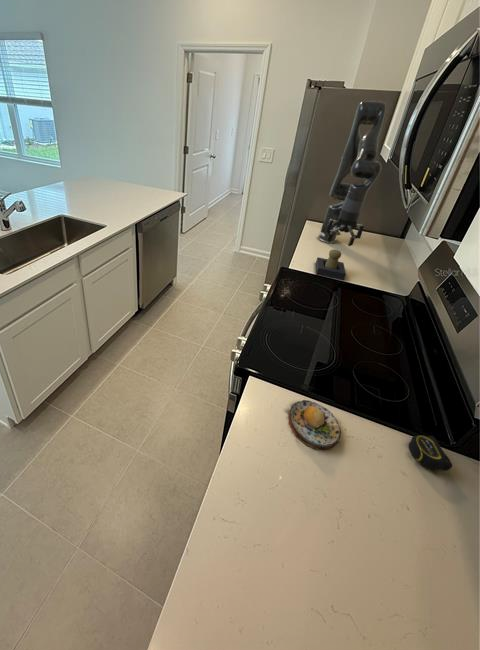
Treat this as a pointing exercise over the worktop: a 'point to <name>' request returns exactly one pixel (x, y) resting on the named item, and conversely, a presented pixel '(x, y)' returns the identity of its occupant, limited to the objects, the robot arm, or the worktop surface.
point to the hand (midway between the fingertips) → (339, 243)
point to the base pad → (330, 269)
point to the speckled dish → (314, 425)
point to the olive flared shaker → (333, 259)
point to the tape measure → (429, 453)
